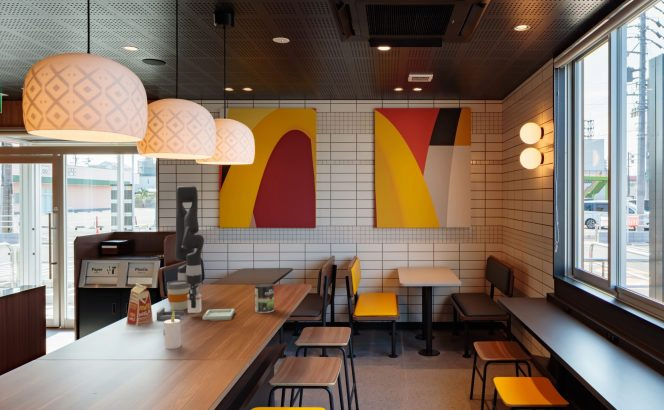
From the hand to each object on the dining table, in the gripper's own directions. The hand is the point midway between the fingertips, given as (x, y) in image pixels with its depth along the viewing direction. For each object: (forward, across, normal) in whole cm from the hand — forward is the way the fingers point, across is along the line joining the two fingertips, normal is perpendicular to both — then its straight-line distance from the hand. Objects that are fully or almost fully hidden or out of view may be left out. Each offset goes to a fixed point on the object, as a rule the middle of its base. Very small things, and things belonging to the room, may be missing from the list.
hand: (194, 306), depth 221 cm
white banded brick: (+3, 0, 0) cm, 3 cm away
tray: (+6, 0, +12) cm, 14 cm away
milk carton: (+6, +7, -25) cm, 26 cm away
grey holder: (+6, 0, -12) cm, 13 cm away
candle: (+6, +43, 0) cm, 43 cm away
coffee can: (+6, -8, +35) cm, 37 cm away
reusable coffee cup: (+6, -19, -13) cm, 24 cm away
